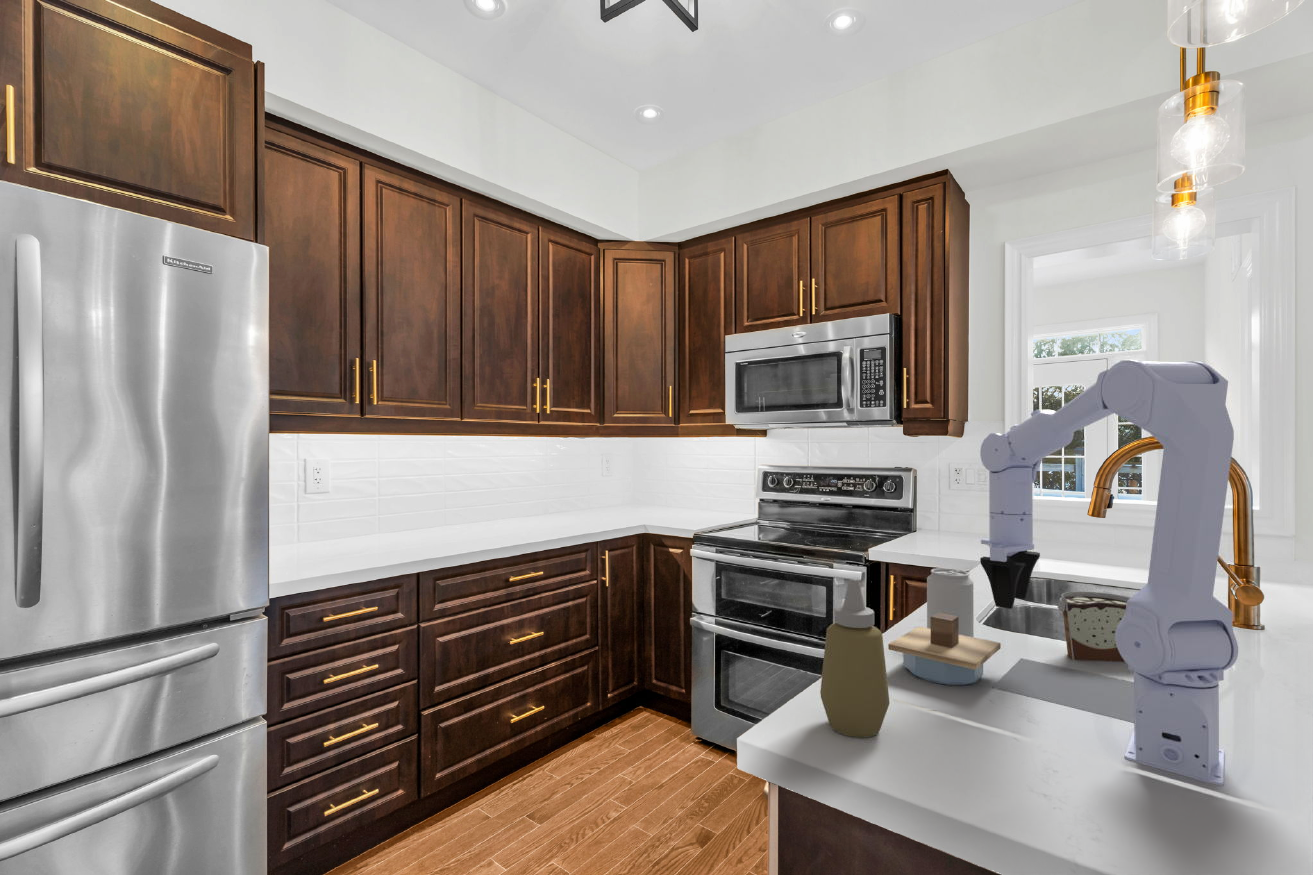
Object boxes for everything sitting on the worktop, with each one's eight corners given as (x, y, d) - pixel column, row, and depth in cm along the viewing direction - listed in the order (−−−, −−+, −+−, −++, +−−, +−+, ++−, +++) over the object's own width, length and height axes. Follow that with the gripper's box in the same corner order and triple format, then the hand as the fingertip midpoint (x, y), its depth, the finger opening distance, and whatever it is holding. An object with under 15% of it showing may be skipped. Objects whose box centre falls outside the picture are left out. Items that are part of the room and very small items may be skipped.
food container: (1120, 651, 102) (1120, 591, 102) (1146, 665, 96) (1146, 601, 96) (1042, 649, 104) (1042, 589, 104) (1062, 662, 98) (1062, 599, 98)
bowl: (967, 694, 85) (967, 665, 85) (895, 675, 92) (895, 648, 92) (989, 674, 92) (989, 647, 92) (920, 658, 99) (920, 633, 99)
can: (917, 634, 112) (917, 567, 112) (951, 630, 114) (951, 565, 114) (948, 647, 105) (948, 576, 105) (983, 643, 107) (983, 573, 107)
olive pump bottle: (859, 708, 80) (858, 570, 80) (904, 736, 73) (904, 584, 73) (806, 718, 77) (806, 575, 78) (848, 748, 70) (848, 590, 70)
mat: (1136, 726, 76) (1136, 722, 76) (992, 690, 86) (992, 687, 86) (1149, 688, 87) (1149, 685, 87) (1021, 660, 98) (1021, 658, 98)
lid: (976, 669, 83) (975, 634, 83) (888, 649, 92) (888, 616, 92) (1000, 648, 92) (1000, 616, 92) (918, 631, 100) (918, 601, 100)
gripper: (995, 507, 102) (995, 589, 102) (967, 514, 91) (967, 606, 91) (1044, 510, 97) (1044, 596, 97) (1021, 518, 87) (1021, 615, 86)
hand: (1010, 602), depth 94 cm, fingers open, 7 cm apart
